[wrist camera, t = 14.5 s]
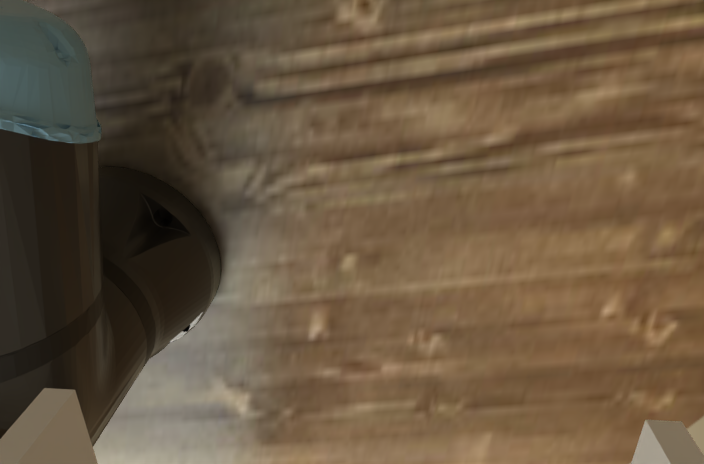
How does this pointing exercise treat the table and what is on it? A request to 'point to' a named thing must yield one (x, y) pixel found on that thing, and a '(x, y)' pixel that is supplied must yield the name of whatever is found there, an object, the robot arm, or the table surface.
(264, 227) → the table surface
